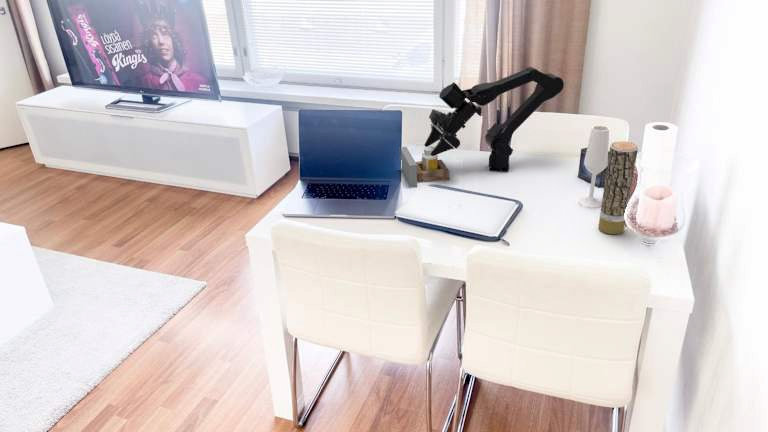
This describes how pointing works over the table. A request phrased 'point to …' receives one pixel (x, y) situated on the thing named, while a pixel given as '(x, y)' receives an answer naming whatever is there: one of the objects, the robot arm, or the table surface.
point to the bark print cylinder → (617, 186)
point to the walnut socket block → (432, 173)
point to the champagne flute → (596, 160)
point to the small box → (586, 175)
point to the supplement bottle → (429, 159)
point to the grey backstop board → (409, 167)
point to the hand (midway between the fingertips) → (428, 150)
